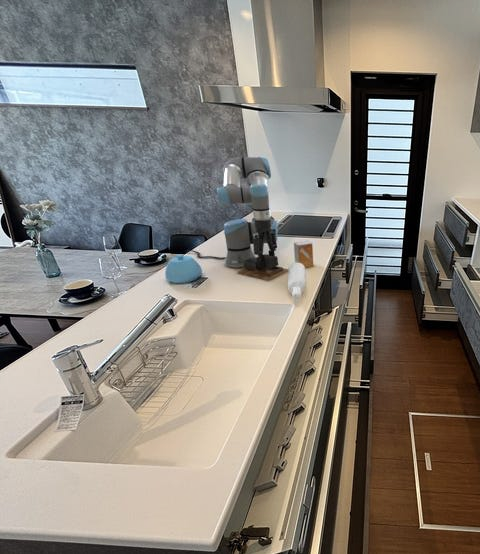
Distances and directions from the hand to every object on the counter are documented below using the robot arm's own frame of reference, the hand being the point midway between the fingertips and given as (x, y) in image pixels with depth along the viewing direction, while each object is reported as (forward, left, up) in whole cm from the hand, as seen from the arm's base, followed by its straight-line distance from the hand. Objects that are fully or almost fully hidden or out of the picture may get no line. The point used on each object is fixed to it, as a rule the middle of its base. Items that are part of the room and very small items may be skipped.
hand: (267, 265), depth 151 cm
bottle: (+16, +3, -1) cm, 16 cm away
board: (-4, 0, -4) cm, 6 cm away
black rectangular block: (0, 0, 0) cm, 0 cm away
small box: (+9, +17, -5) cm, 20 cm away
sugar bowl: (-31, -23, -5) cm, 39 cm away
